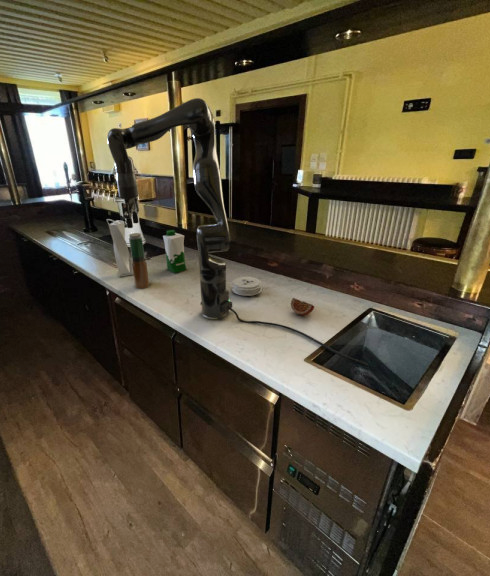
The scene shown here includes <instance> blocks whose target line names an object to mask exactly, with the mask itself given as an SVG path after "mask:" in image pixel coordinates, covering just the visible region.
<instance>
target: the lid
mask: <svg viewBox="0 0 490 576" xmlns="http://www.w3.org/2000/svg"><path fill="white" fill-rule="evenodd" d="M231 286H232V287H231V291H232V292H233V293H234V294H237V295H239V296H245V297H247V296H249V297H250V296H251V297H252V296H255V295H259V294H261V293H262V291H263V282H262V281H261V280H260V279H259V278H257V277H253V276H241V277H238V278H236V279H234V280H233V281H232V282H231Z"/></svg>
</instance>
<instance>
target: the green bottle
mask: <svg viewBox="0 0 490 576" xmlns="http://www.w3.org/2000/svg"><path fill="white" fill-rule="evenodd" d="M128 236H129V237H128V240H129V246H130V255H131V258H132V257H134V258H138V257H142V256H144V257H145V251H144V250H145V249H144V243H143V242H144V241H143V236H142V235H141V233H140V232H133V233H129V235H128Z"/></svg>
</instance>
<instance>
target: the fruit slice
mask: <svg viewBox="0 0 490 576" xmlns="http://www.w3.org/2000/svg"><path fill="white" fill-rule="evenodd" d="M290 307H291V309H292V311H293V312H294V313H295V314H297V315H299V316H307V315H309V314H310V313H312V312H313V311H314V310H315V306H314V305H313V304H312V303H309V302H306V301H304V300H300V299H297V298H295V297H292V299H291V300H290Z"/></svg>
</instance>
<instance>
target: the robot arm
mask: <svg viewBox="0 0 490 576" xmlns="http://www.w3.org/2000/svg"><path fill="white" fill-rule="evenodd" d="M181 126H187V128H188V129H189V130H190V132H191V134H192V137H193V142H194V147H195V156H194V159H193V164H192V176H193V177H192V178H193V184H194V189H195V191H196V193H197V195H198V196H199V198H201V201H202V202H204V203H205V204H206V206H207V207H208V208H209V210H210V211H211V212H212V214H213V217H214V219H215V222H216V223H213V224H202V225H198V226H197V228H196V243H197V251H198V252H197V253H198V264H199V265H198V268H199V283H200V285H199V286H200V300H201V301H200V306H201V316H202V317H203V318H205V319H207V320H213V321H214V320H218V321H221V320H223V319H224V318H225V317H227V315H229V314H230V312H232V313H233V314H234V315H235V317H236V319H237V321H239V322H240V323H245V324H261V325H267V326H268V325H269V326H275V327H279V328H283V329H286V330H289V331H292V332H295V333H297V334H299V335H302V336H303V337H306V338H307V339H309V340H311V341H313V342H314V343H316V344H318V345H320V346H322V347H323V348H325V349H327V350H328V351H330V352H332V353H334V354H335V355H338V356H340V357H342V358H343V359H344V358H345V359H347V360H349V361H352V362H354V363H357V364H360V365H362V366H365V367H369V363H368V362H364V361H361V360H359V359H356V358H353V357H351V356H348V355H346V354H343V353H341V352H339V351H337V350H335V349H333V348H332V347H330V346H329V345H327V344H324V343H323V342H321V341H319V340H317V339H316V338H314V337H312V336H311V335H308V334H306V333H305V332H302V331H300V330H297V329H296V328H293V327H289V326H288V325H287V326H286V325H283V324H279V323H275V322H268V321H261V320H243V319H241V318H240V317H239V314H238V313H237V312H236V311H235V310H234V309H233V301H231V300H230V291H229V290H228V289H227V264H226V261H224V260H222V259H220V258H216V257H213V256H210V255H209V254H212V253H221V252H227V251H229V249H230V248H231V234H230V228H229V223H228V219H227V213H226V209H225V202H224V193H223V183H222V174H221V169H220V164H219V163H220V162H219V156H218V152H217V151H218V150H217V147H216V121H215V116H214V114H213V112H212V111H211V109H210V107H209V105H208V103H207V102H206V101H205V100H204V99H202V98H200V97H195V98H192V99H190V100H187V101H185V102H183V103H181V104H179V105H177V106H175V107H173V108H171V109H169V110H167V111H165V112H164V113H162V114H160V115H157V116H155V117H152V118H148V119H146V120H142V121H139V122H135V123H133V124H132V126H128V127H125V128H117V127H113V128H111V129H110V130H109V131H108V132H107V136H106V137H107V138H106V140H107V146H108V149H109V151H110V155H111V157H112V159H113V162H114V167H115V173H116V175H115V176H116V184H117V191H118V197H119V198H120V199H123V202H121V212H122V218H123V219H125V221H126V228H127V229H133V228H134V225H133V224H138V223H139V222H140V221H139V216H138V215H139V212H140V208H139V202H138V197H139V190H138V182H137V177H136V172H135V166H134V165H135V164H134V160H133V158H132V157H131V156H129V155H128V151H127V150H129V149H132V148H133V149H134V148H135V147H137V146H140V145H143V144H144V145H145V144H147V143H151V142H155V141H157V140H160V139H161V138H163V136H165V135H166V134H167V133H168V132H169V131H171V130H172V129H174V128H176V127H181Z"/></svg>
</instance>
